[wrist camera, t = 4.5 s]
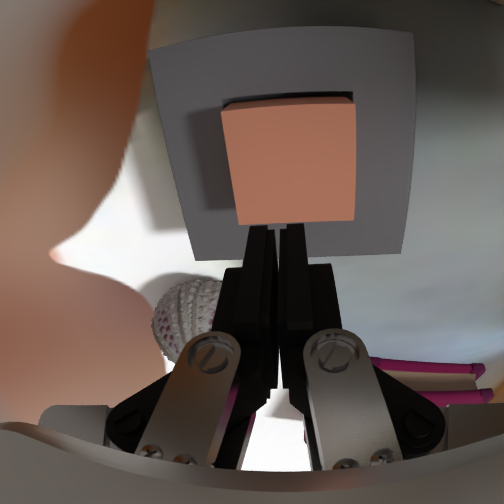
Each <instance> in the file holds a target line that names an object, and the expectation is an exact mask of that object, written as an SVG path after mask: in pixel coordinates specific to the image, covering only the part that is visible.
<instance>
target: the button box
mask: <svg viewBox="0 0 504 504" xmlns="http://www.w3.org/2000/svg"><path fill="white" fill-rule="evenodd" d="M148 55H149V61H150V66H151V72H152V77H153V83H154V88H155V93H156V98H157V103H158V108H159V113H160V118H161V123H162V127H163V132H164V137H165V141H166V146H167V150H168V155H169V159H170V163H171V168H172V172H173V176H174V180H175V184H176V188H177V192H178V197H179V201H180V204H181V208H182V212H183V216H184V220H185V224H186V228H187V231H188V235H189V239H190V243H191V246H192V250H193V254H194V257H195V261H208V260H240V259H244V254H245V249H246V243H247V238H248V232H249V227H250V226H258V225H268V229H274V230H275V238H276V249H277V258H279V243H280V229H287V224H295V223H304V228H305V238H306V248H307V257H327V256H354V255H380V254H401V249H402V244H403V238H404V232H405V226H406V219H407V212H408V205H409V197H410V189H411V180H412V169H413V158H414V143H415V123H416V66H415V47H414V33H412V32H405V31H397V30H389V29H379V28H366V27H347V26H301V27H282V28H269V29H258V30H249V31H241V32H234V33H227V34H221V35H215V36H210V37H204V38H199V39H194V40H189V41H185V42H180V43H176V44H172V45H168V46H164V47H160V48H157V49H153V50H149V51H148ZM299 97H347V98H348V99H349V100H351V101H352V102H354V103H355V106H356V188H355V212H354V220H351V221H320V222H294V223H270V224H250V225H239V223H238V217H237V211H236V204H235V198H234V192H233V186H232V180H231V174H230V168H229V161H228V155H227V149H226V143H225V136H224V130H223V124H222V117H221V111H222V110H223V109H224V108H225V107H227V106H228V105H229V104H230V103H237V102H246V101H256V100H268V99H281V98H299Z"/></svg>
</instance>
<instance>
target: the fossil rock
mask: <svg viewBox="0 0 504 504" xmlns="http://www.w3.org/2000/svg"><path fill="white" fill-rule="evenodd" d="M490 1H493V2H495V3H497V4H498V5H504V0H490Z"/></svg>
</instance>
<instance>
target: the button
mask: <svg viewBox="0 0 504 504" xmlns="http://www.w3.org/2000/svg"><path fill="white" fill-rule="evenodd" d="M221 117H222V124H223V130H224V136H225V143H226V149H227V155H228V161H229V168H230V174H231V180H232V186H233V192H234V198H235V204H236V211H237V217H238V223H239V225H250V224H270V223H294V222H320V221H351V220H354V212H355V188H356V106H355V103H354V102H352V101H351V100H349V99H348V98H347V97H299V98H281V99H268V100H256V101H246V102H237V103H230V104H229V105H228V106H227V107H225V108H224V109H223V110H222V111H221Z"/></svg>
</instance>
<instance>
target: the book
mask: <svg viewBox="0 0 504 504" xmlns="http://www.w3.org/2000/svg"><path fill="white" fill-rule="evenodd" d="M369 358H370V360H371V363H372V364H373V365H375V366H376V367H378V368H379V369H381V370H383V371H384V372H386V373H387V374H389V375H390V376H392V377H393V378H395V379H397V380H398V381H400V382H401V383H403V384H404V385H406V386H408V387H409V388H411V389H412V390H414V391H416V392H417V393H419V394H420V395H422V396H424V397H425V398H427V399H428V400H430V401H432V402H433V403H434V404H435V405H437V406H438V407H446V406H447V405H448V404H485V403H488V402H489V401H490V400H491V399H492V398H493V397H494V394H493V391H492V389H491V388H486V389H479V390H478V389H477V386H476V383H475V381H476V380H477V379H478V378H479V377H480V376H481V375H482V374H483V373H484V372H485V370H486V369H485V366H484V364H482V363H472V364H453V363H433V362H418V361H405V360H393V359H383V358H378V357H369ZM304 441H305V443H306V444H307V442H306V436H305V430H304Z"/></svg>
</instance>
